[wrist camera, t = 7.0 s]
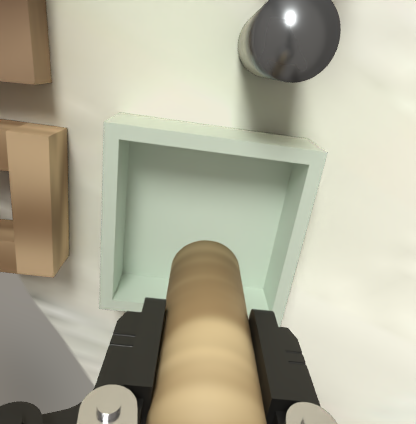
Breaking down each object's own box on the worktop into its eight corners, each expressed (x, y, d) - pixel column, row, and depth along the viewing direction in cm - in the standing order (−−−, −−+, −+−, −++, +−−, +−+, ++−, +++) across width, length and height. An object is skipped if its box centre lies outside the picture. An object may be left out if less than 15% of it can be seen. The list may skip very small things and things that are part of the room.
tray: (119, 112, 19) (103, 121, 16) (308, 138, 20) (327, 152, 16) (113, 276, 23) (99, 308, 20) (270, 293, 23) (280, 327, 20)
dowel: (174, 236, 15) (125, 518, 6) (244, 244, 15) (310, 531, 6) (167, 295, 16) (118, 611, 7) (233, 302, 16) (272, 619, 7)
